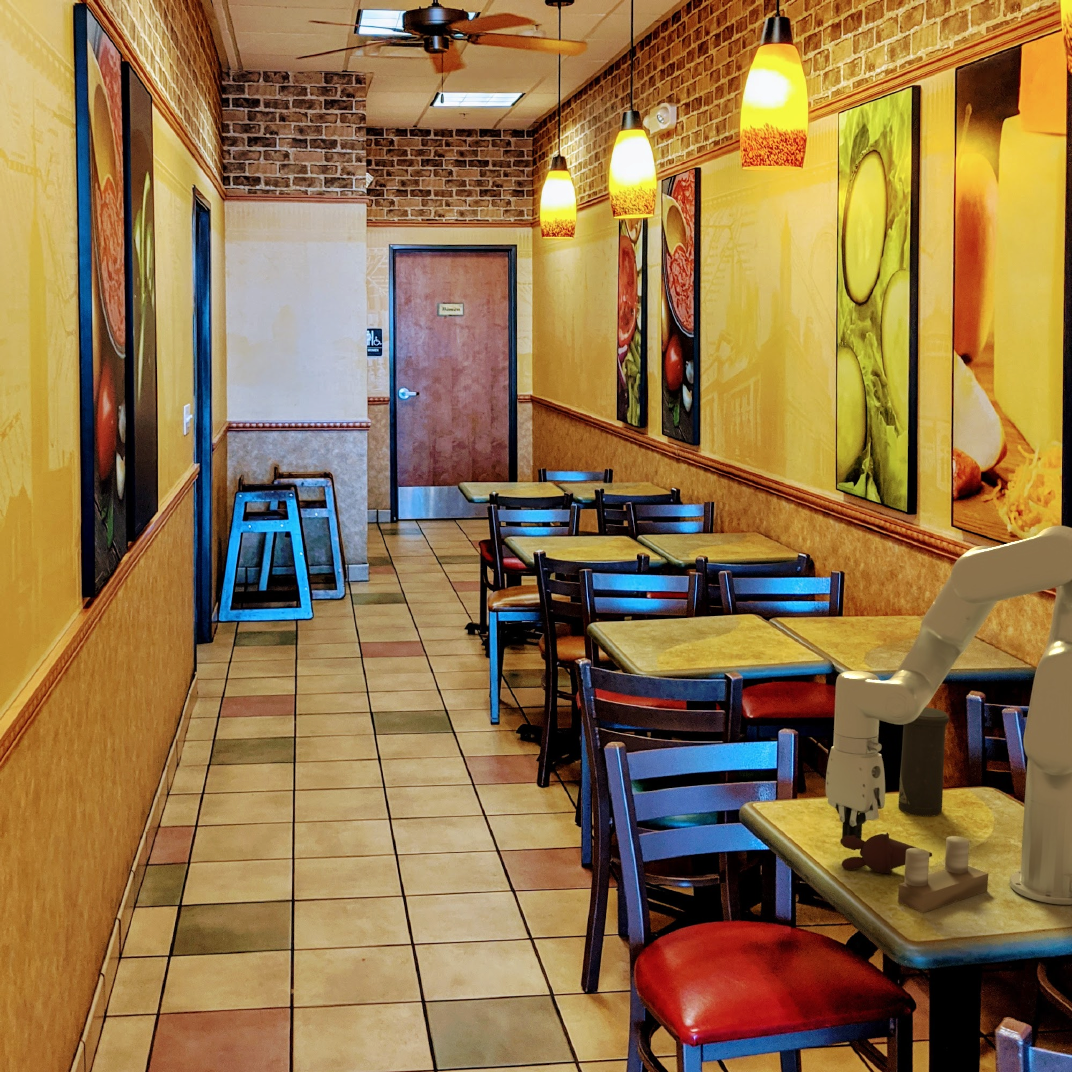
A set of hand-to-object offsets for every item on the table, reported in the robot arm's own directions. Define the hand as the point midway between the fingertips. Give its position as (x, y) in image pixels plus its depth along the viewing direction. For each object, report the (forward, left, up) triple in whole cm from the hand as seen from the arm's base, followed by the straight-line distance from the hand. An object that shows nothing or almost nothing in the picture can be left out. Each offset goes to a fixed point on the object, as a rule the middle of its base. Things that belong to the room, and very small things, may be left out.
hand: (851, 844), depth 228 cm
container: (+10, -30, -2) cm, 31 cm away
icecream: (-8, +1, -2) cm, 9 cm away
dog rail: (-20, +1, -2) cm, 21 cm away
